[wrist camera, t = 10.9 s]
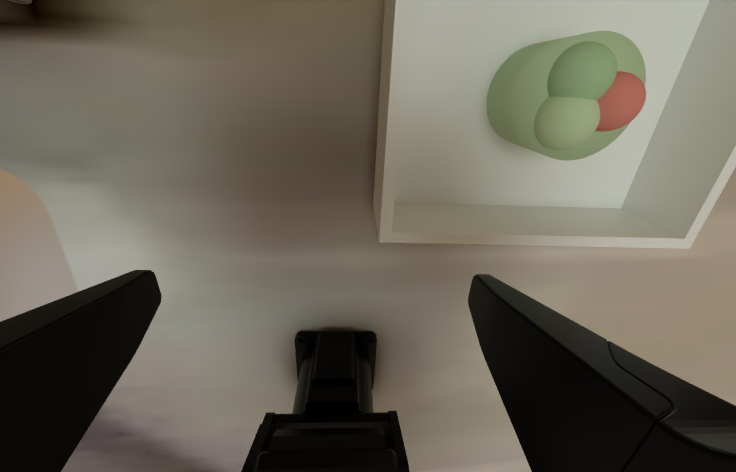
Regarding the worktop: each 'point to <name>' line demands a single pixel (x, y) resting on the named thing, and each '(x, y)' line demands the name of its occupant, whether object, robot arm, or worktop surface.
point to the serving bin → (531, 169)
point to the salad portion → (568, 94)
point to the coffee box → (22, 1)
